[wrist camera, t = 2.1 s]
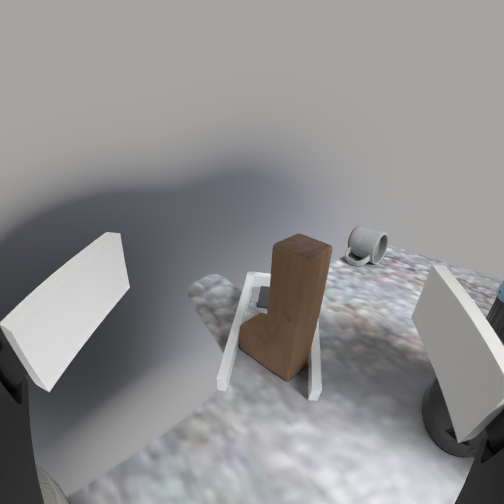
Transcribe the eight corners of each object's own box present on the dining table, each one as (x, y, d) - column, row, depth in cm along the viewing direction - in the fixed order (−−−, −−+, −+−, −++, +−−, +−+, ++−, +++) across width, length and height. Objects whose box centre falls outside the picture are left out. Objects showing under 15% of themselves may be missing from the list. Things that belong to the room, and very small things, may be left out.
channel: (312, 288, 52) (314, 277, 51) (317, 400, 30) (321, 389, 28) (247, 282, 53) (248, 271, 52) (217, 390, 31) (216, 378, 30)
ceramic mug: (358, 247, 69) (363, 220, 66) (384, 259, 64) (391, 231, 60) (336, 259, 63) (341, 229, 60) (364, 273, 58) (371, 242, 54)
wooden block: (238, 348, 38) (239, 229, 30) (260, 333, 41) (267, 220, 32) (287, 383, 32) (309, 259, 24) (307, 364, 35) (334, 245, 27)
